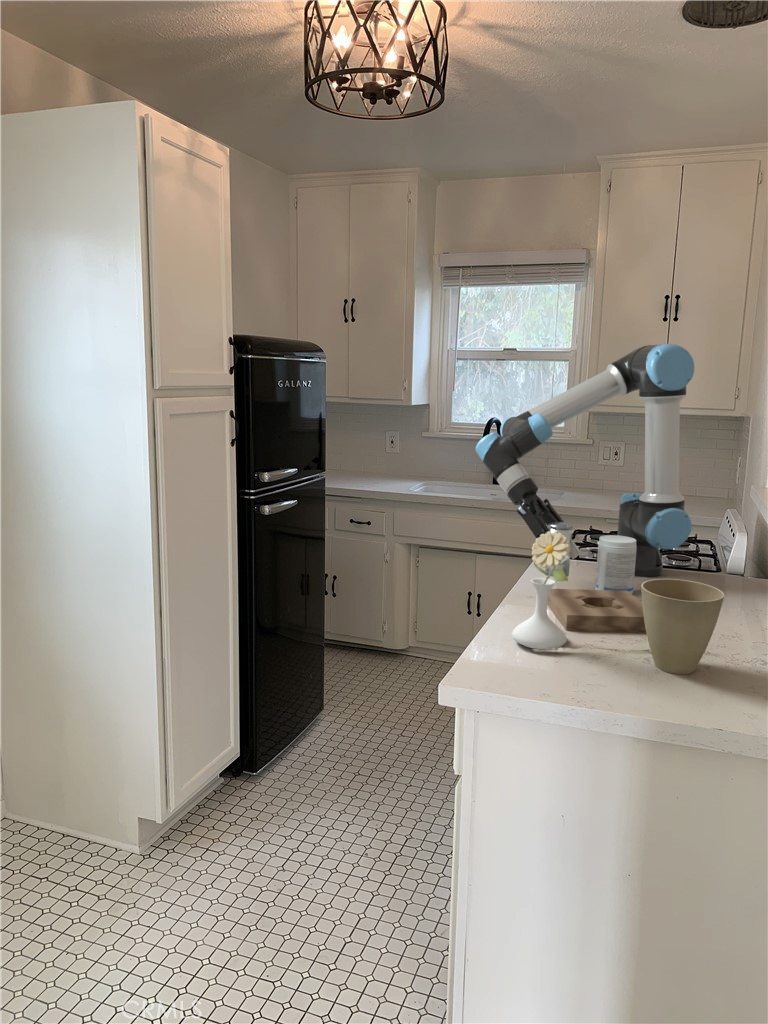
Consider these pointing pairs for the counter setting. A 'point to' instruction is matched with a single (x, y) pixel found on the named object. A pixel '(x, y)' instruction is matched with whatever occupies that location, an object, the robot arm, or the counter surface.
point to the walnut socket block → (597, 610)
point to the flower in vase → (544, 595)
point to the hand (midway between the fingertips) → (571, 558)
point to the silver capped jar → (567, 532)
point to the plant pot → (679, 621)
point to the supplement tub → (616, 563)
